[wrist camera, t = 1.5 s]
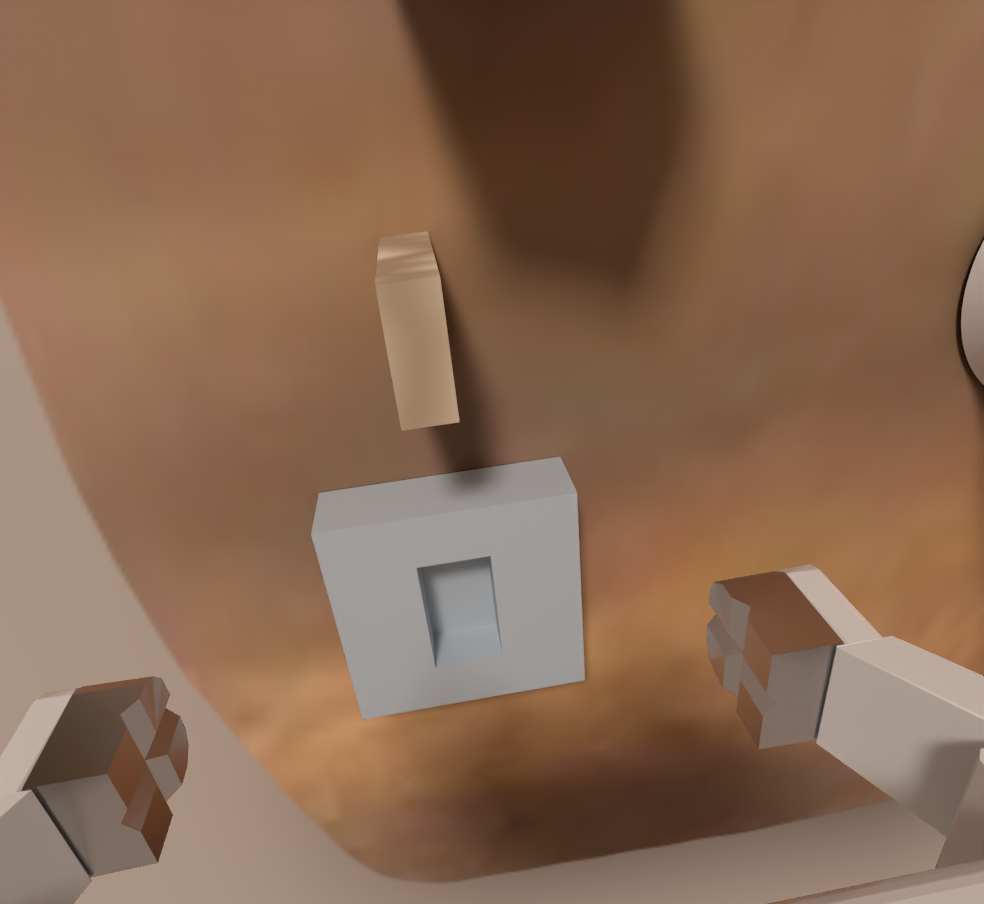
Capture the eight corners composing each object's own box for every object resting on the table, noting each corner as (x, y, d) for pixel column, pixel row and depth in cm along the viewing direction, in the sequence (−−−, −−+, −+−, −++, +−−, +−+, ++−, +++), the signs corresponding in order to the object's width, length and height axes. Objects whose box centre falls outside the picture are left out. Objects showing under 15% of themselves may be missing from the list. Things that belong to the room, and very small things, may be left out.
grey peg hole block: (559, 456, 33) (577, 492, 30) (569, 634, 39) (584, 680, 36) (318, 493, 32) (311, 534, 29) (365, 669, 38) (362, 719, 35)
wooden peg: (428, 231, 27) (440, 276, 20) (443, 346, 30) (459, 422, 23) (379, 237, 27) (375, 285, 20) (399, 352, 30) (401, 430, 23)
